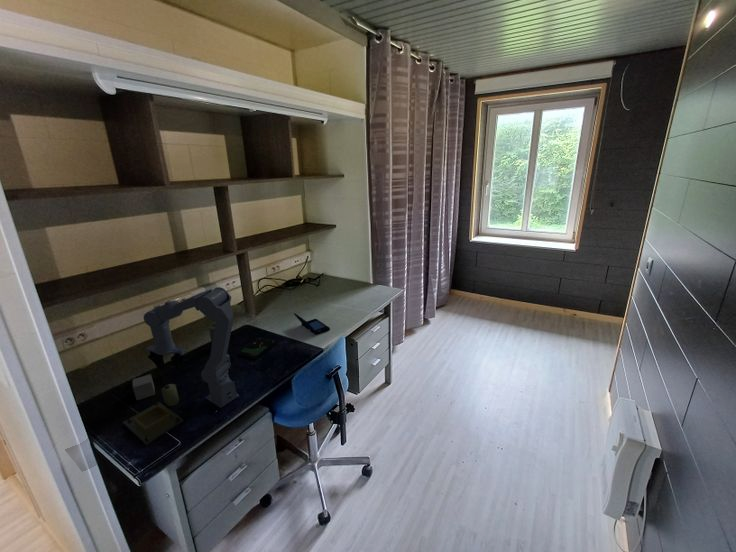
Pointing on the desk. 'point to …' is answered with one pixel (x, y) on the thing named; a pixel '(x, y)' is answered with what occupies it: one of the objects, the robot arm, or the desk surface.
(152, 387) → the grey cube
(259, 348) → the disk drive
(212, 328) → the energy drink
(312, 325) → the black handheld device
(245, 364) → the desk surface
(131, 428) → the mounting bracket
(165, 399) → the switch lever
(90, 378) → the desk surface
